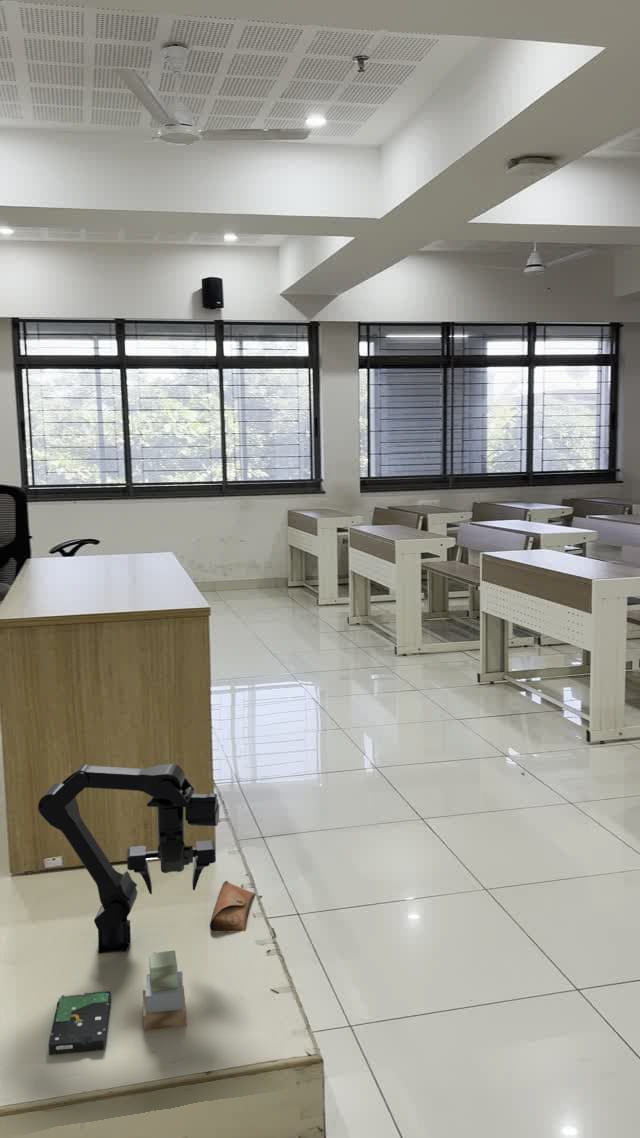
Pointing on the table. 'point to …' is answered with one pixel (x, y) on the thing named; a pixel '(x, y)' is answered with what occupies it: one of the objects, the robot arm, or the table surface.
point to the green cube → (163, 971)
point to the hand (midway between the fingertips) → (172, 891)
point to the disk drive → (80, 1023)
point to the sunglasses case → (231, 908)
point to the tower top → (164, 997)
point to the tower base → (164, 1017)
